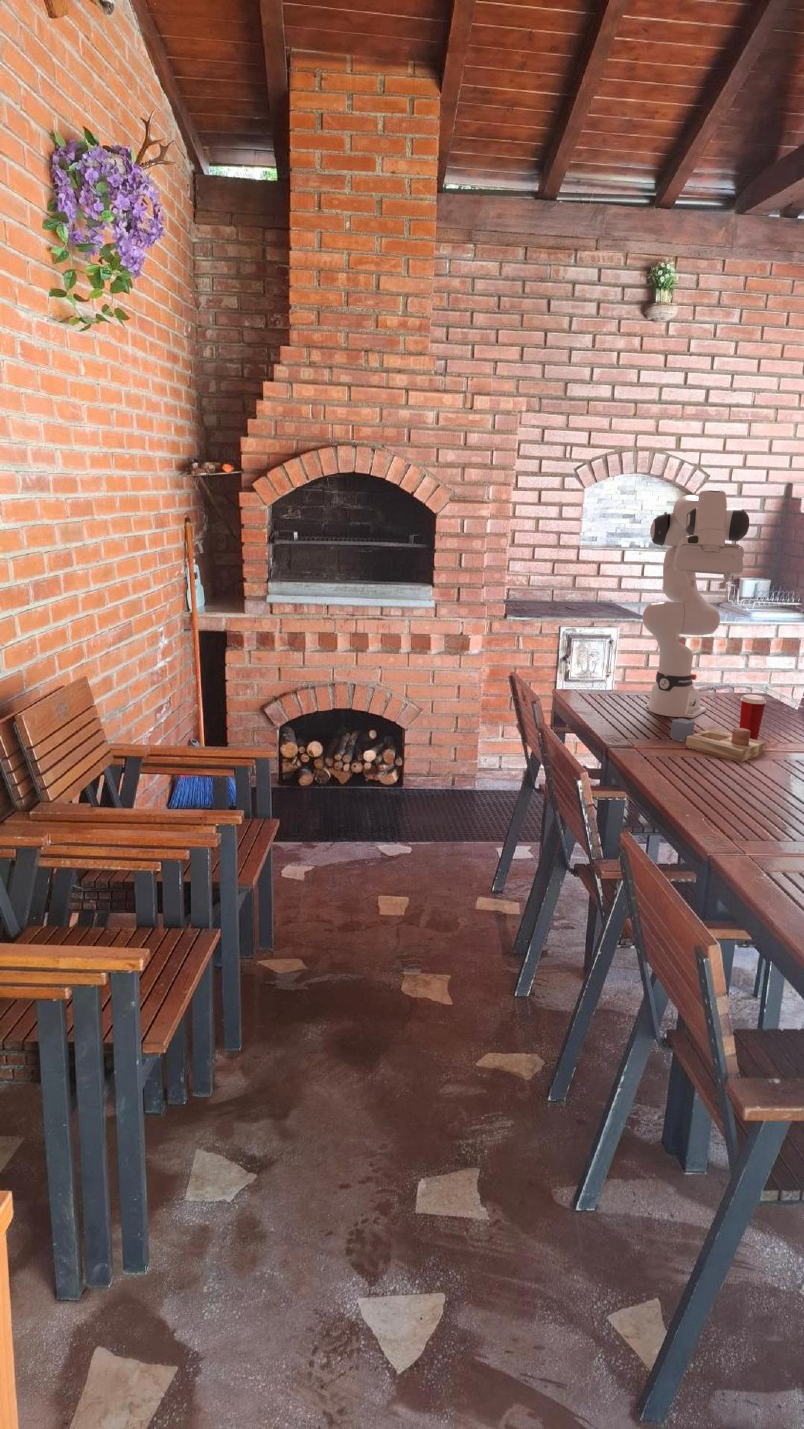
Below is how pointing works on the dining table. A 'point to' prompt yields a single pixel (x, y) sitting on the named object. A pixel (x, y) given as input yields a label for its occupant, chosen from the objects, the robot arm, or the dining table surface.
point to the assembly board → (727, 744)
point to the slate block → (681, 729)
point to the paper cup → (752, 714)
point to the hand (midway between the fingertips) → (706, 587)
